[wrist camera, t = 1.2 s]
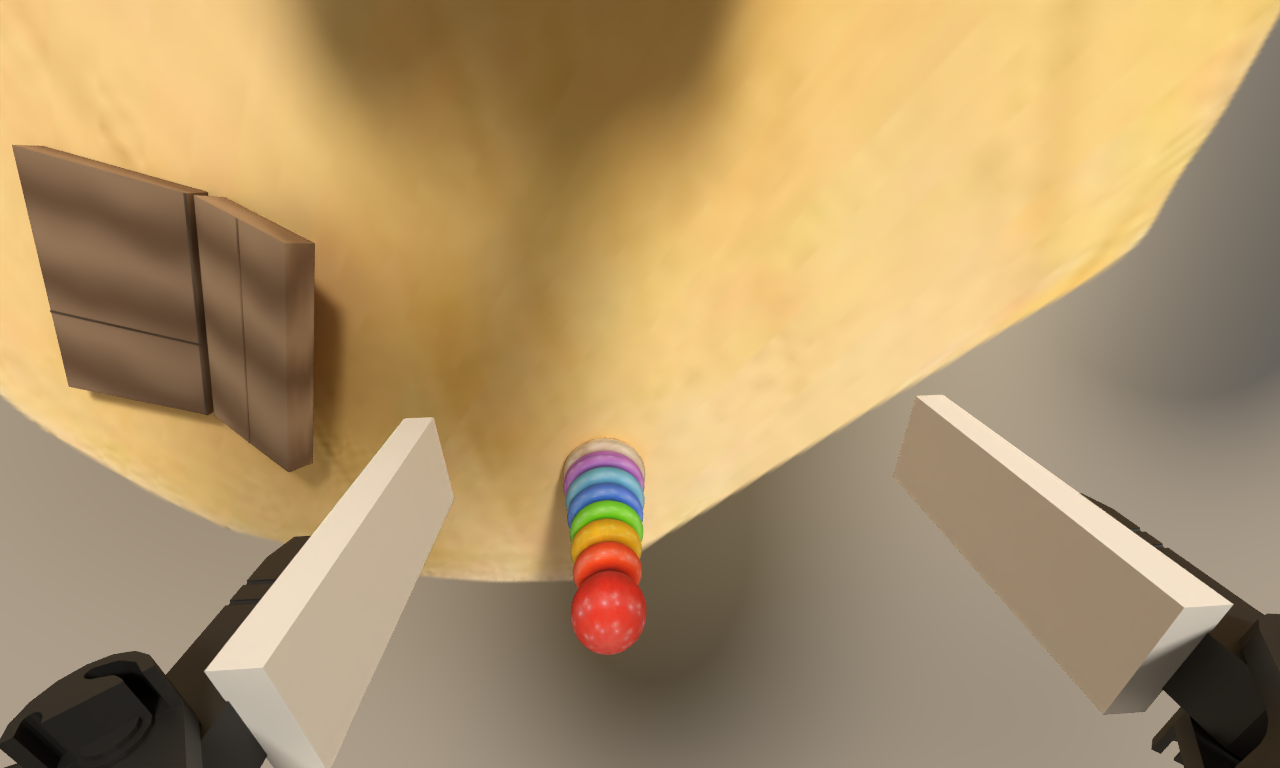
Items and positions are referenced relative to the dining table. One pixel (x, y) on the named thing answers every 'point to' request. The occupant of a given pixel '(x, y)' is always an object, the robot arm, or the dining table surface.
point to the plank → (259, 327)
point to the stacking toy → (606, 543)
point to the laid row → (120, 277)
